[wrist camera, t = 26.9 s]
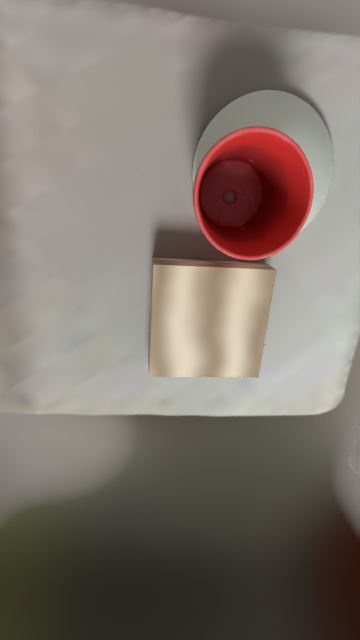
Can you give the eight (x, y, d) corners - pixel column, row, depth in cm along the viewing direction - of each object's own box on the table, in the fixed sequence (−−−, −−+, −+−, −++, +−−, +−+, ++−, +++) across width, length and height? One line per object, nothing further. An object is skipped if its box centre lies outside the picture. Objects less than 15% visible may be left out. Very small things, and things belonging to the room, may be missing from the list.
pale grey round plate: (186, 242, 41) (187, 243, 40) (198, 84, 35) (199, 81, 34) (313, 249, 43) (317, 250, 42) (343, 100, 37) (349, 98, 36)
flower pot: (186, 249, 40) (199, 267, 31) (176, 145, 36) (188, 131, 27) (274, 239, 41) (311, 254, 32) (274, 135, 37) (317, 119, 28)
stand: (148, 361, 46) (149, 376, 42) (152, 257, 41) (153, 264, 37) (249, 362, 48) (258, 377, 44) (264, 262, 43) (276, 270, 39)
